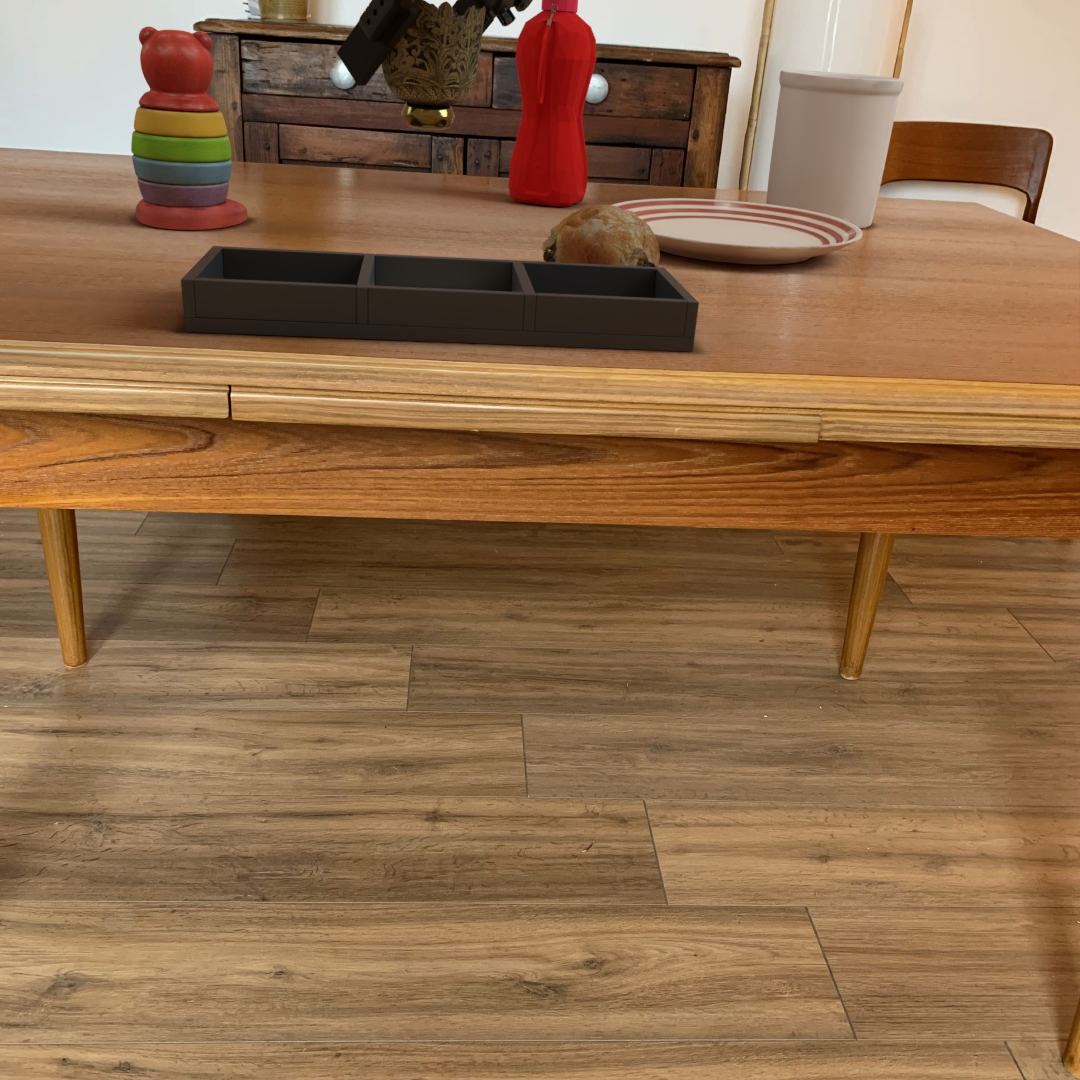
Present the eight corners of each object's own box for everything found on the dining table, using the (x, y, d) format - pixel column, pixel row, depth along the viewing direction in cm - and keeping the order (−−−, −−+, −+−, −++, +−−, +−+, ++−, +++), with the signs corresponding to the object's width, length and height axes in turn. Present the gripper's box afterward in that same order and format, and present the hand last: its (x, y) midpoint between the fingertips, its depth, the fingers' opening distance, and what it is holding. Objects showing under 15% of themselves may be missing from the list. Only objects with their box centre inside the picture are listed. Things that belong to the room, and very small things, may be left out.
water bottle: (495, 203, 136) (506, -22, 126) (524, 194, 146) (536, -16, 135) (566, 211, 134) (583, -17, 123) (591, 201, 143) (608, -11, 133)
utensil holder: (876, 234, 133) (906, 79, 126) (754, 221, 136) (776, 69, 129) (876, 219, 146) (903, 77, 139) (764, 207, 149) (785, 68, 142)
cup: (445, 124, 81) (448, 4, 78) (501, 134, 76) (507, 6, 73) (355, 122, 77) (354, -4, 74) (408, 132, 72) (410, -3, 69)
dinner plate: (829, 287, 101) (835, 251, 100) (559, 248, 111) (561, 214, 109) (876, 248, 124) (882, 217, 122) (649, 218, 134) (652, 189, 132)
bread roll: (602, 330, 95) (647, 251, 91) (514, 263, 97) (553, 183, 93) (648, 310, 103) (691, 238, 99) (565, 249, 105) (604, 175, 101)
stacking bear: (251, 217, 115) (242, 31, 108) (233, 233, 106) (222, 32, 99) (146, 211, 114) (130, 24, 107) (118, 227, 105) (99, 23, 98)
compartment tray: (184, 332, 73) (180, 279, 71) (215, 292, 84) (212, 245, 82) (692, 351, 77) (699, 302, 75) (659, 311, 88) (664, 267, 86)
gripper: (544, -201, 54) (315, 116, 69) (721, -136, 70) (504, 111, 84) (463, -323, 55) (253, 19, 69) (657, -231, 70) (452, 32, 85)
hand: (391, 69), depth 77 cm, fingers closed on cup, 7 cm apart
